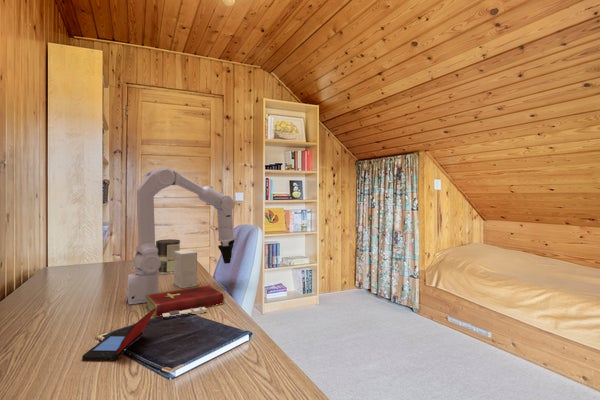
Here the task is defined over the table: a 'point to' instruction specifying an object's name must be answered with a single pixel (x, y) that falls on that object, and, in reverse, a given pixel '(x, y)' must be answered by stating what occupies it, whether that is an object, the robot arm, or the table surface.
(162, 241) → the coffee can
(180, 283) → the small box
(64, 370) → the table surface
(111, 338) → the handheld game console
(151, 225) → the robot arm
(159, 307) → the hardcover book
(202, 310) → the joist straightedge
